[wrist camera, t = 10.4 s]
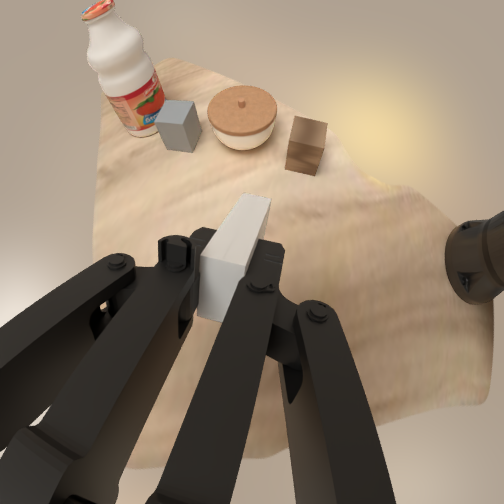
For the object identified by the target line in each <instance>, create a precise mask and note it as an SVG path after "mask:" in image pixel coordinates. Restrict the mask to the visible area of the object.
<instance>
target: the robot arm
mask: <svg viewBox="0 0 504 504" xmlns="http://www.w3.org/2000/svg"><path fill="white" fill-rule="evenodd" d="M270 204H271V198H266V197H261V196H257V195H252V194H247V193H243V194H242V195H241V197H240V198H239V200H238V201H237V203H236V204H235V205H234V207H233V208H232V210H231V211H230V212H229V214H228V215H227V217H226V218H225V220H224V221H223V222H222V224H221V225H220V227H219V228H218V230H214V229H209V228H205V227H202V228H200V229H198V230H196V231H194V232H193V233H192V235H191V236H190V238H188V237H185V236H179V235H172V236H166V237H163V238H161V239H160V240H158V261H159V262H158V263H157V264H156V265H155V266H154V267H137V266H135V261H134V258H133V257H131V256H130V255H127V254H124V253H116V254H111V255H108V256H106V257H104V258H102V259H101V260H99V261H98V262H96V263H94V264H93V265H91V266H89V267H88V268H86V269H85V270H83V271H82V272H80V273H78V274H77V275H75V276H74V277H72V278H71V279H69V280H68V281H66V282H65V283H63V284H61V285H60V286H58V287H57V288H56V289H54V290H52V291H51V292H50V293H48V294H47V295H45V296H44V297H42V298H41V299H39V300H38V301H36V302H35V303H34V304H32V305H31V306H30V307H28V308H26V309H25V310H24V311H22V312H21V313H19V314H18V315H17V316H15V317H14V318H13V319H11V320H10V321H9V322H7V323H6V324H5V325H3V326H2V327H1V328H0V452H1V451H2V450H4V449H5V448H6V447H7V448H6V450H5V452H4V453H3V455H2V457H1V459H0V504H115V503H116V500H117V497H118V492H119V487H118V484H119V480H120V477H121V475H122V473H123V471H124V468H125V466H126V464H127V462H128V460H129V457H130V455H131V453H132V451H133V449H134V446H135V444H136V442H137V440H138V438H139V435H140V433H141V431H142V429H143V427H144V425H145V423H146V420H147V418H148V416H149V414H150V412H151V410H152V408H153V405H154V403H155V401H156V399H157V397H158V395H159V393H160V391H161V389H162V386H163V384H164V382H165V380H166V378H167V376H168V374H169V372H170V370H171V368H172V366H173V364H174V361H175V359H176V357H177V355H178V353H179V351H180V349H181V347H182V345H183V343H184V341H185V339H186V337H187V335H188V333H189V331H190V329H191V327H192V324H193V314H194V312H195V310H196V308H197V316H200V317H203V318H207V319H210V320H214V321H218V322H222V325H221V327H220V330H219V332H218V335H217V337H216V340H215V342H214V345H213V347H212V350H211V352H210V355H209V358H208V360H207V363H206V365H205V368H204V370H203V373H202V375H201V378H200V380H199V383H198V385H197V388H196V390H195V393H194V395H193V398H192V400H191V403H190V406H189V408H188V411H187V413H186V416H185V418H184V421H183V423H182V426H181V428H180V431H179V433H178V436H177V438H176V441H175V444H174V446H173V449H172V451H171V454H170V456H169V459H168V461H167V464H166V466H165V469H164V472H163V474H162V477H161V479H160V482H159V484H158V486H157V488H156V490H155V491H154V493H153V494H152V495H151V496H150V497H149V498H148V500H147V501H146V503H145V504H230V501H231V498H232V494H233V490H234V487H235V483H236V479H237V475H238V471H239V467H240V463H241V460H242V456H243V452H244V448H245V443H246V439H247V435H248V431H249V427H250V423H251V418H252V414H253V410H254V406H255V401H256V397H257V392H258V388H259V383H260V379H261V374H262V370H263V365H264V360H265V356H266V355H267V356H269V357H271V358H272V359H274V360H276V361H278V367H279V375H280V382H281V389H282V397H283V404H284V412H285V420H286V427H287V435H288V443H289V450H290V457H291V466H292V474H293V481H294V490H295V498H296V504H396V501H395V497H394V492H393V488H392V484H391V480H390V477H389V473H388V469H387V465H386V462H385V458H384V454H383V451H382V447H381V444H380V440H379V437H378V434H377V430H376V427H375V424H374V420H373V417H372V414H371V411H370V407H369V404H368V401H367V398H366V395H365V392H364V389H363V386H362V383H361V380H360V377H359V374H358V371H357V368H356V365H355V363H354V360H353V357H352V354H351V351H350V348H349V346H348V343H347V340H346V337H345V335H344V332H343V329H342V327H341V324H340V321H339V319H338V316H337V314H336V312H335V311H334V309H332V308H331V307H330V306H329V305H327V304H325V303H323V302H321V301H316V300H307V301H304V302H302V303H300V305H297V304H295V303H292V302H291V301H289V300H287V299H286V298H285V297H284V296H283V295H282V294H281V292H280V290H279V281H280V275H281V270H282V265H283V259H284V253H285V250H284V248H283V246H282V244H280V243H275V242H271V241H267V240H264V235H265V230H266V225H267V220H268V215H269V209H270ZM445 263H446V269H447V274H448V277H449V280H450V282H451V285H452V287H453V288H454V290H455V292H456V293H457V294H458V296H459V297H460V298H461V299H463V300H464V301H465V302H467V303H469V304H474V305H477V304H482V303H487V302H489V301H491V300H492V299H494V298H495V297H496V296H497V295H499V294H500V293H501V292H502V291H504V211H502V212H501V213H499V214H497V215H495V216H494V217H492V218H491V219H489V220H474V221H467V222H464V223H463V224H461V225H459V226H458V227H456V228H455V229H454V230H453V231H452V232H451V234H450V236H449V238H448V240H447V244H446V250H445ZM105 301H106V305H107V307H106V308H104V309H102V310H101V309H100V305H101V304H103V303H104V302H105ZM51 404H52V405H51ZM50 405H51V406H50ZM49 406H50V408H49V409H48V411H47V412H46V414H45V416H44V417H43V419H42V420H41V422H40V423H39V424H37V425H35V426H29V425H30V424H31V423H32V422H33V421H34V420H36V418H38V417H39V416H40V415H41V414H42V413H43V412H44V411H45V410H46V409H47V408H48V407H49Z"/></svg>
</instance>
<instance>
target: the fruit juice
mask: <svg viewBox="0 0 504 504" xmlns="http://www.w3.org/2000/svg"><path fill="white" fill-rule="evenodd" d="M114 9H115V4H114V1H113V0H102V1H100V2H97V3H95V4H94V5H92V6H90V7H88V8H87V9H86V10H85V11H84V12H82V14H81V17H82V20H83V21H84V23H86V24H87V25H88V29H89V41H90V43H89V47H88V50H87V60H88V63H89V65H90V67H91V68H92V69H93V70H94V71H96V72H97V73H98V80H99V83H100V86H101V88H102V90H103V92H104V93H105V95H106V96H107V98H108V100H109V102H110V103H111V105H112V107H113V108H114V110H115V112H116V113H117V115H118V117H119V118H120V120H121V122H122V123H123V125H124V127H125V128H126V130H127V131H128V132H129V133H130V134H131V135H133V136H136V137H146V136H149V135H152V134H154V133H156V132H158V129H157V127H156V125H155V123H154V121H155V119H156V117H157V115H158V114H159V112H160V110H161V108H162V107H163V105H164V103H165V101H166V98H165V95H164V92H163V90H162V87H161V84H160V82H159V79H158V76H157V74H156V71H155V68H154V65H153V63H152V60H151V58H150V57H149V55H148V54H147V53H146V52H145V51H144V49H143V38H142V35H141V33H140V32H139V31H138V30H137V29H136V28H134V27H132V26H130V25H128V24H127V23H125V22H124V21H123V20H122V19H121V18H120V17H119V16H118V15H117V13H116V12H115V10H114Z"/></svg>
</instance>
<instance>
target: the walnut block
mask: <svg viewBox="0 0 504 504" xmlns="http://www.w3.org/2000/svg"><path fill="white" fill-rule="evenodd" d="M326 131H327V123H324V122H320V121H316V120H312V119H307V118H303V117H298V116H295V117H294V121H293V126H292V130H291V134H290V139H289V145H288V151H287V158H286V165H285V170H290V171H294V172H299V173H303V174H308V175H312V176H315V174H316V171H317V168H318V165H319V162H320V159H321V156H322V153H323V150H324V146H325V139H326Z"/></svg>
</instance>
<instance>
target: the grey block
mask: <svg viewBox="0 0 504 504" xmlns="http://www.w3.org/2000/svg"><path fill="white" fill-rule="evenodd" d="M154 123H155V125H156V127H157V129H158V131H159V134H160V136H161V138H162V140H163V142H164V144H165V146H166V148H167V150H174V151H182V152H190V153H193V151H194V149H195V146H196V144H197V142H198V139H199V137H200V135H201V132H202V129H201V126H200V122H199V119H198V115H197V111H196V108H195V104H194V102H193V101H178V100H166V101H165V103H164V105H163V107H162V108H161V110H160V112H159V114H158V115H157V117H156V119H155V121H154Z"/></svg>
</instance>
